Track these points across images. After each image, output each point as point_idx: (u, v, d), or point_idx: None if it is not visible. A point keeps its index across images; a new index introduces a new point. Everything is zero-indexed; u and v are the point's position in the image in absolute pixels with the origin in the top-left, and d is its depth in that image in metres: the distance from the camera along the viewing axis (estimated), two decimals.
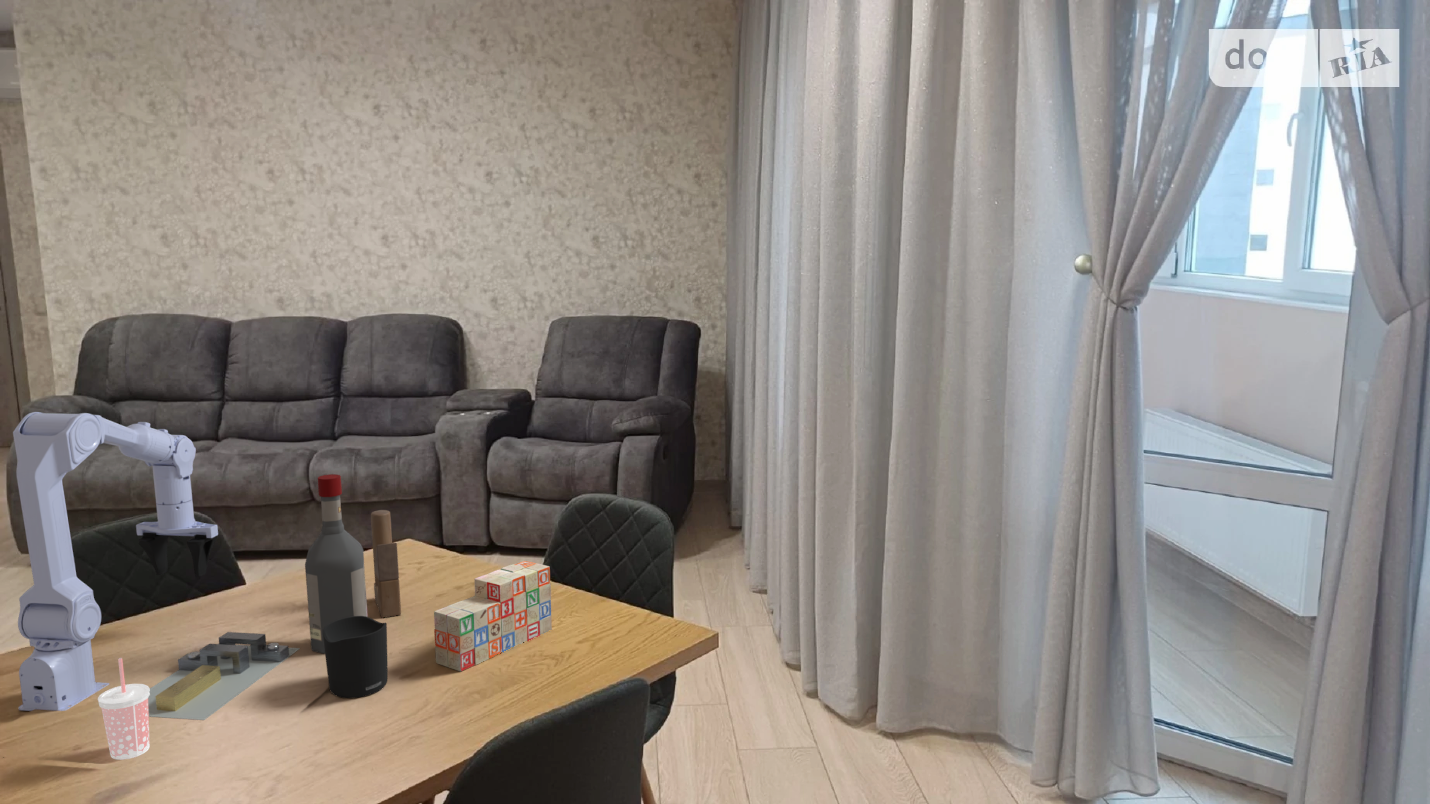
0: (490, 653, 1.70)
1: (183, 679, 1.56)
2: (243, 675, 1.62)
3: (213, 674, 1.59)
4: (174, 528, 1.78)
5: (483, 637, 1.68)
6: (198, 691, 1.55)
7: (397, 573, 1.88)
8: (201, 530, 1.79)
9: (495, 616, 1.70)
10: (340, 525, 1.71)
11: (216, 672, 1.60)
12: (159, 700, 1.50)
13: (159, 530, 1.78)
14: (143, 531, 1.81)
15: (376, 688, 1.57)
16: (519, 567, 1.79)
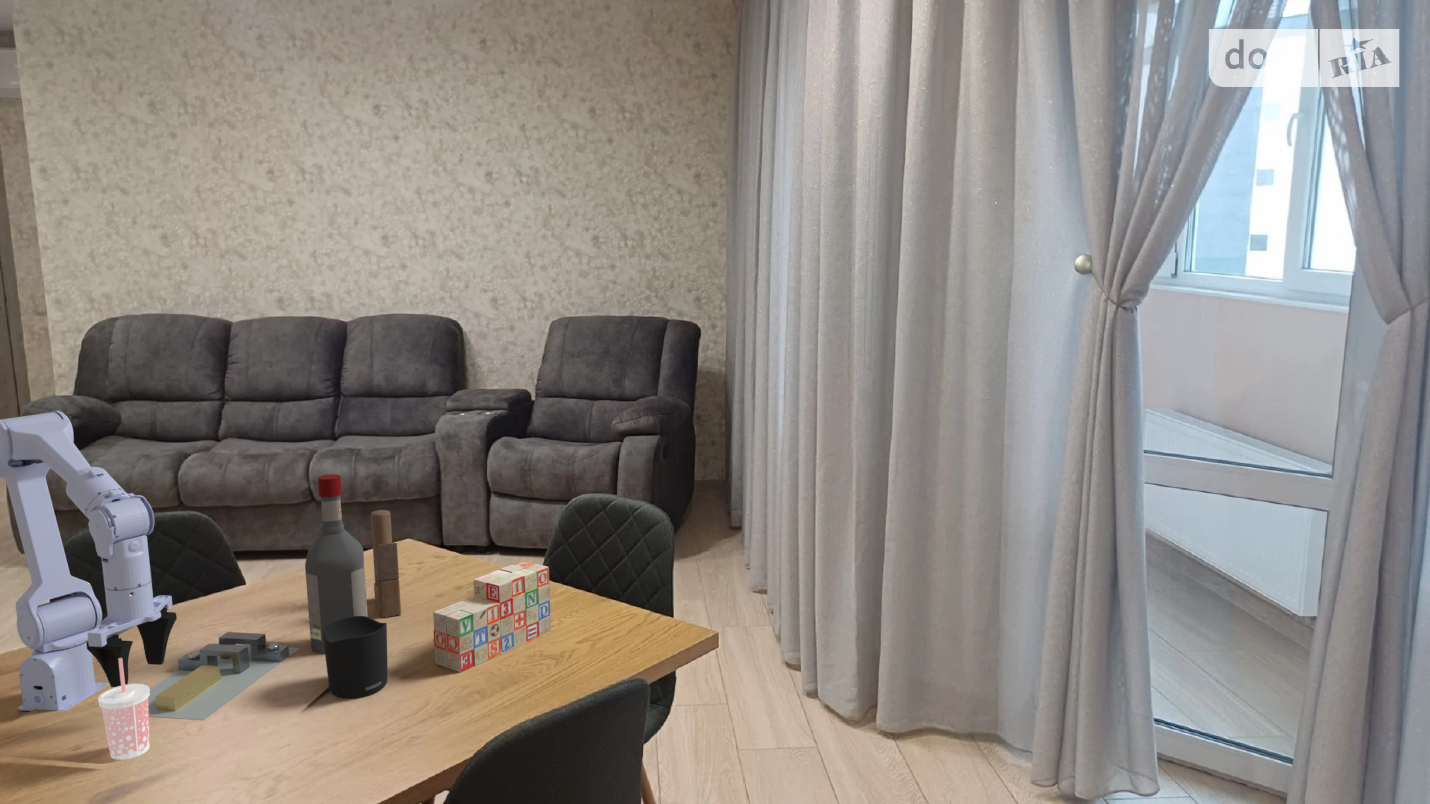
0: (489, 654, 1.69)
1: (183, 679, 1.56)
2: (243, 675, 1.62)
3: (213, 674, 1.59)
4: None
5: (482, 638, 1.68)
6: (198, 691, 1.55)
7: (397, 573, 1.88)
8: (94, 631, 1.38)
9: (495, 617, 1.70)
10: (340, 525, 1.71)
11: (216, 672, 1.60)
12: (159, 700, 1.50)
13: None
14: None
15: (376, 688, 1.57)
16: (518, 567, 1.78)
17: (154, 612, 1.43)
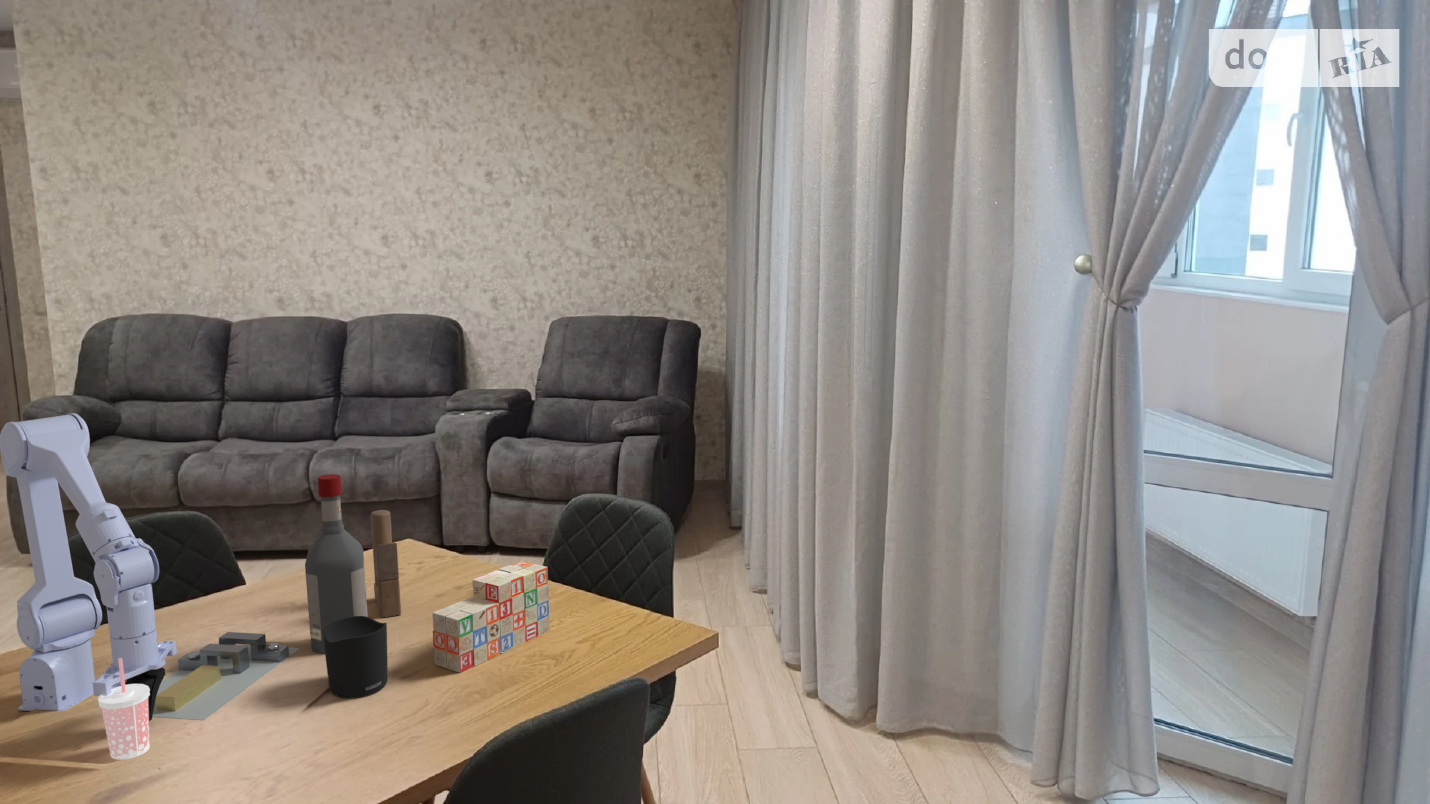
0: (489, 654, 1.69)
1: (183, 679, 1.56)
2: (243, 675, 1.62)
3: (213, 674, 1.59)
4: (112, 663, 1.43)
5: (482, 638, 1.68)
6: (198, 691, 1.55)
7: (397, 573, 1.88)
8: (100, 680, 1.39)
9: (494, 617, 1.70)
10: (340, 525, 1.71)
11: (216, 672, 1.60)
12: (159, 700, 1.50)
13: None
14: None
15: (376, 688, 1.57)
16: (517, 568, 1.78)
17: (159, 660, 1.44)
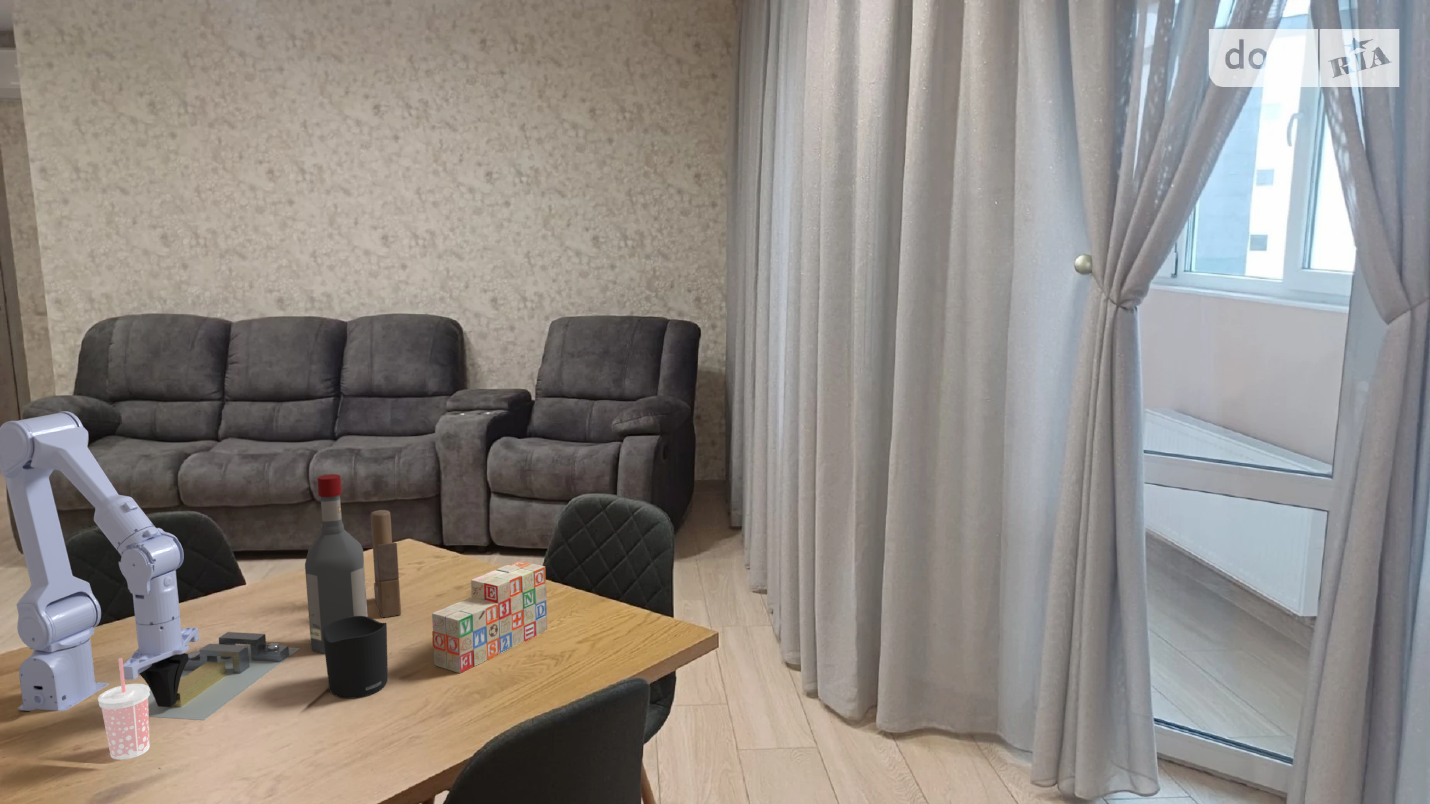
0: (488, 654, 1.69)
1: (189, 675, 1.57)
2: (243, 675, 1.62)
3: (218, 671, 1.60)
4: (138, 648, 1.48)
5: (482, 638, 1.68)
6: (203, 688, 1.57)
7: (397, 573, 1.88)
8: (126, 664, 1.44)
9: (493, 617, 1.70)
10: (340, 525, 1.71)
11: (221, 668, 1.61)
12: None
13: None
14: None
15: (376, 688, 1.57)
16: (515, 568, 1.78)
17: (183, 645, 1.49)
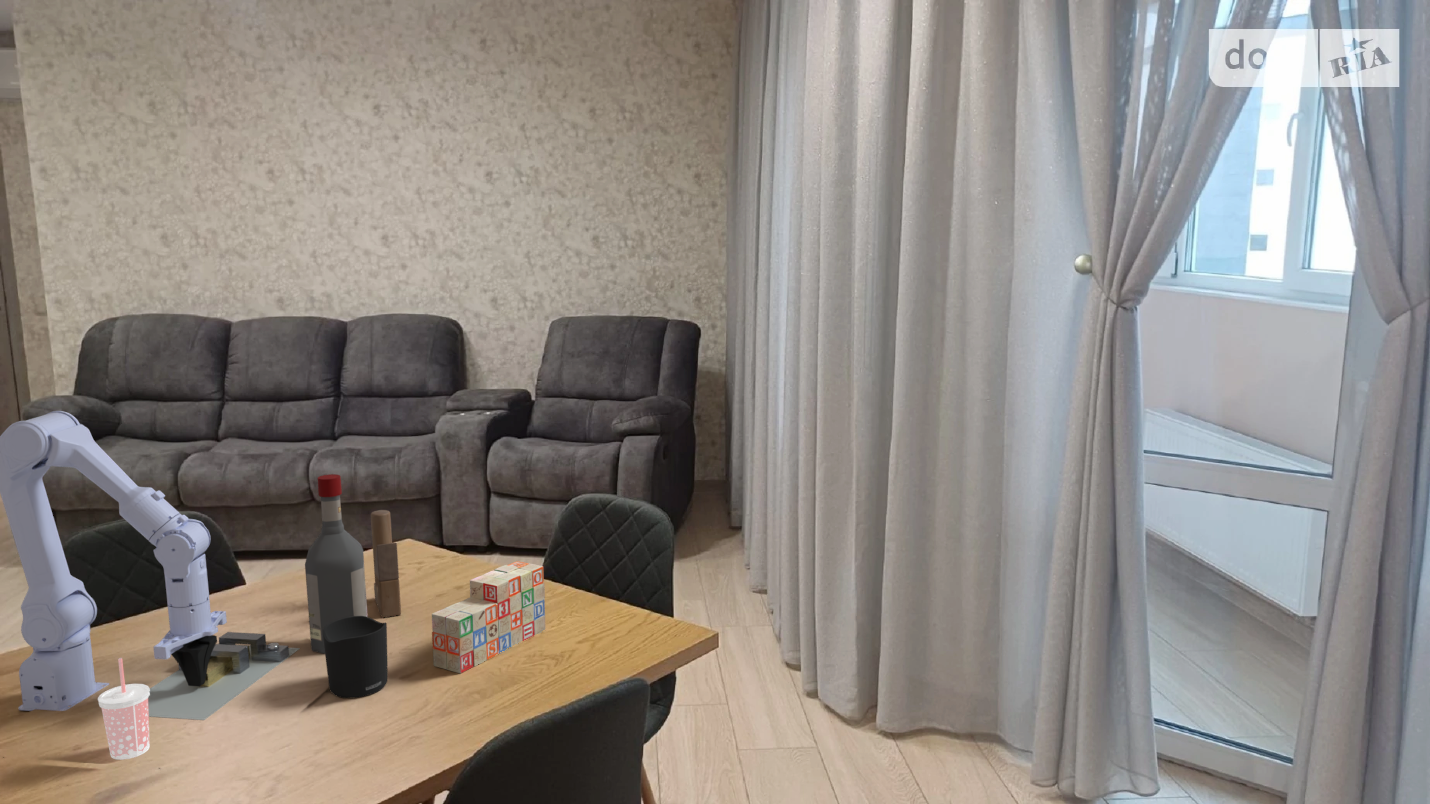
0: (488, 654, 1.69)
1: (215, 657, 1.64)
2: (243, 675, 1.62)
3: None
4: (169, 630, 1.55)
5: (481, 639, 1.68)
6: (229, 669, 1.63)
7: (397, 573, 1.88)
8: None
9: (493, 617, 1.70)
10: (340, 525, 1.71)
11: None
12: None
13: None
14: None
15: (376, 688, 1.57)
16: (513, 567, 1.78)
17: (212, 627, 1.56)
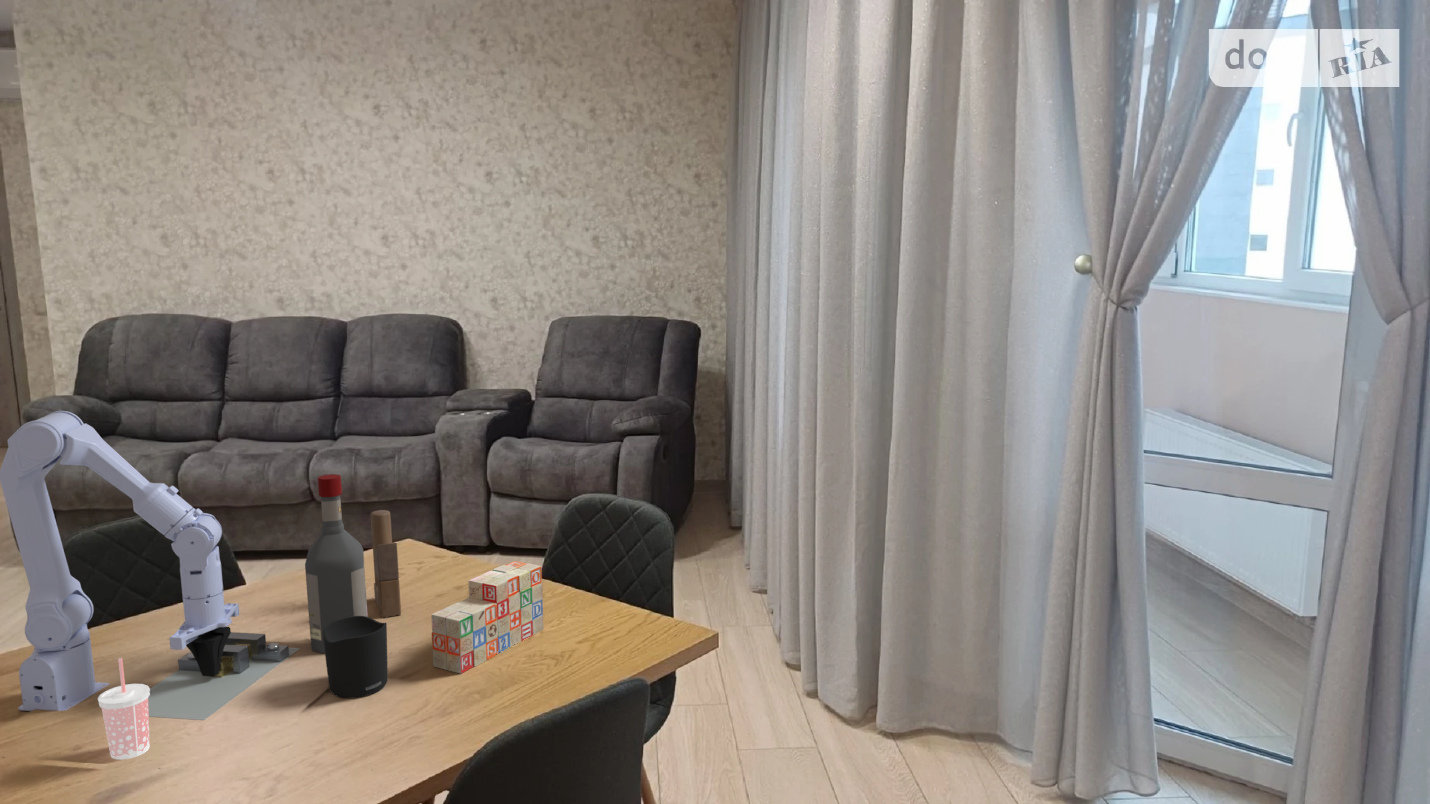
0: (487, 654, 1.69)
1: None
2: (243, 675, 1.62)
3: None
4: None
5: (481, 639, 1.67)
6: None
7: (397, 573, 1.88)
8: None
9: (492, 617, 1.70)
10: (340, 525, 1.71)
11: None
12: None
13: None
14: None
15: (376, 688, 1.57)
16: (511, 567, 1.78)
17: (226, 619, 1.59)
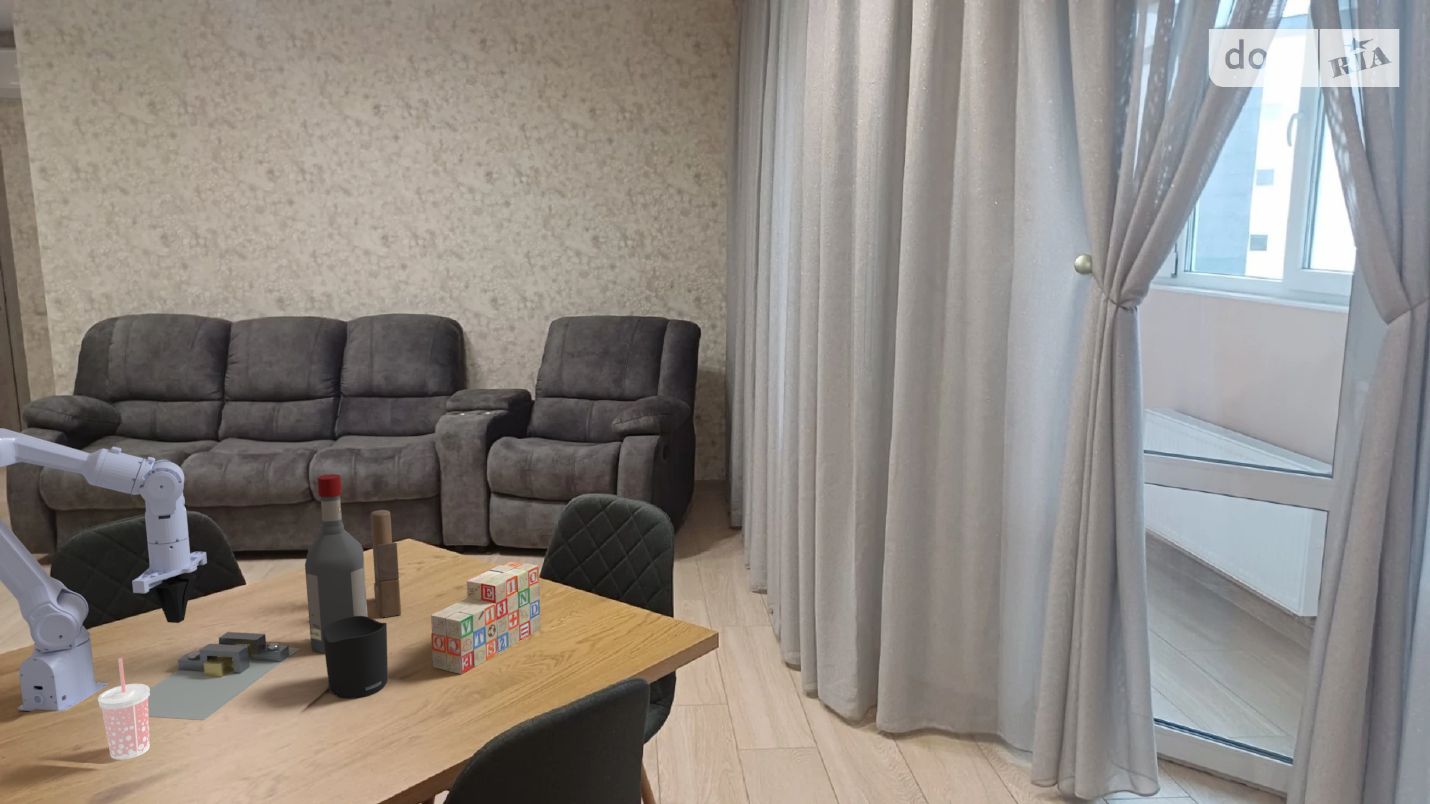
0: (487, 654, 1.69)
1: None
2: (243, 675, 1.62)
3: None
4: (149, 567, 1.59)
5: (481, 639, 1.67)
6: None
7: (397, 573, 1.88)
8: (138, 580, 1.54)
9: (491, 617, 1.70)
10: (340, 525, 1.71)
11: None
12: (207, 667, 1.62)
13: None
14: None
15: (376, 688, 1.57)
16: (508, 567, 1.78)
17: (191, 565, 1.60)
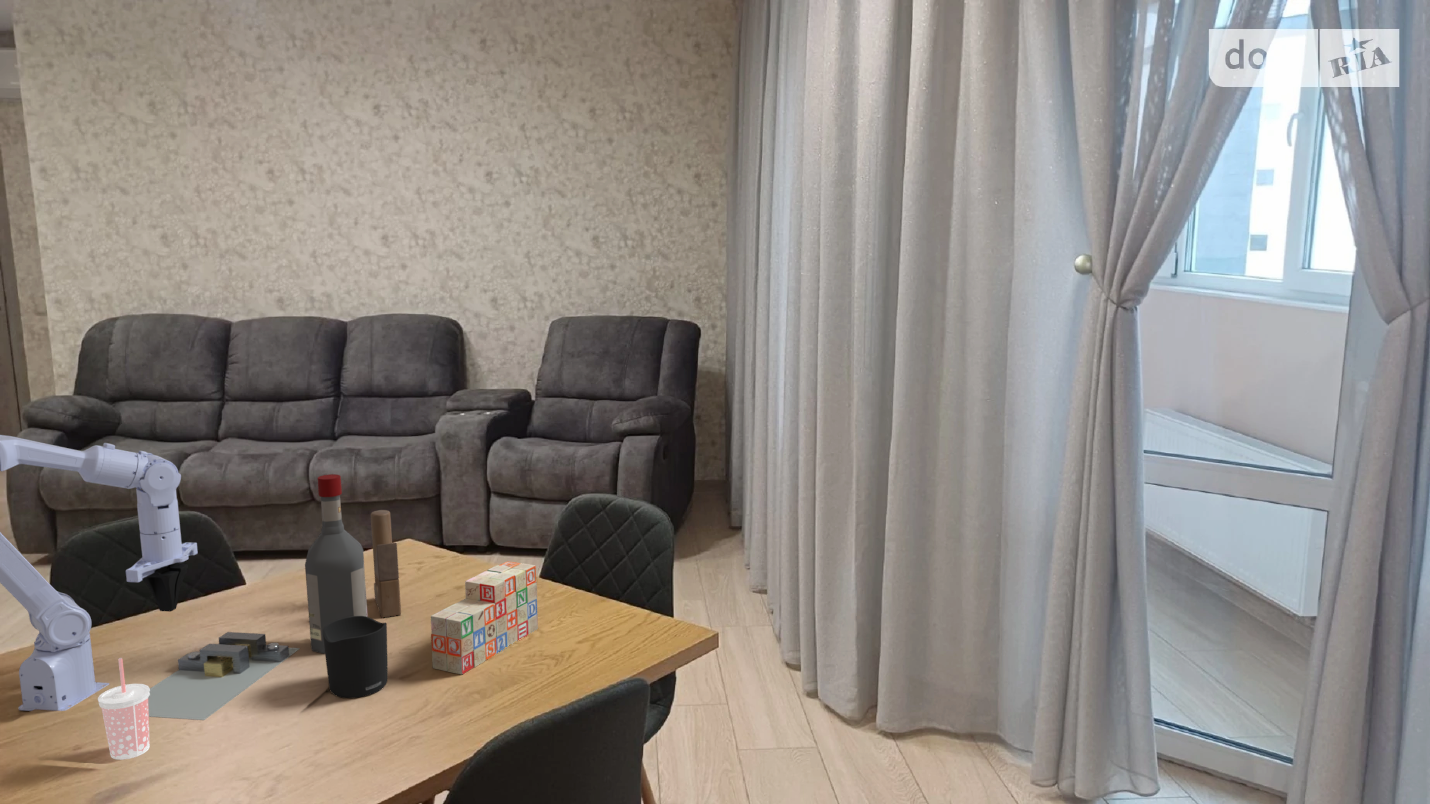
0: (486, 655, 1.69)
1: None
2: (243, 675, 1.62)
3: None
4: (142, 557, 1.63)
5: (480, 639, 1.67)
6: None
7: (397, 573, 1.88)
8: (131, 569, 1.59)
9: (491, 617, 1.69)
10: (340, 525, 1.71)
11: None
12: (207, 667, 1.62)
13: None
14: None
15: (376, 688, 1.57)
16: (505, 567, 1.78)
17: (183, 555, 1.64)
